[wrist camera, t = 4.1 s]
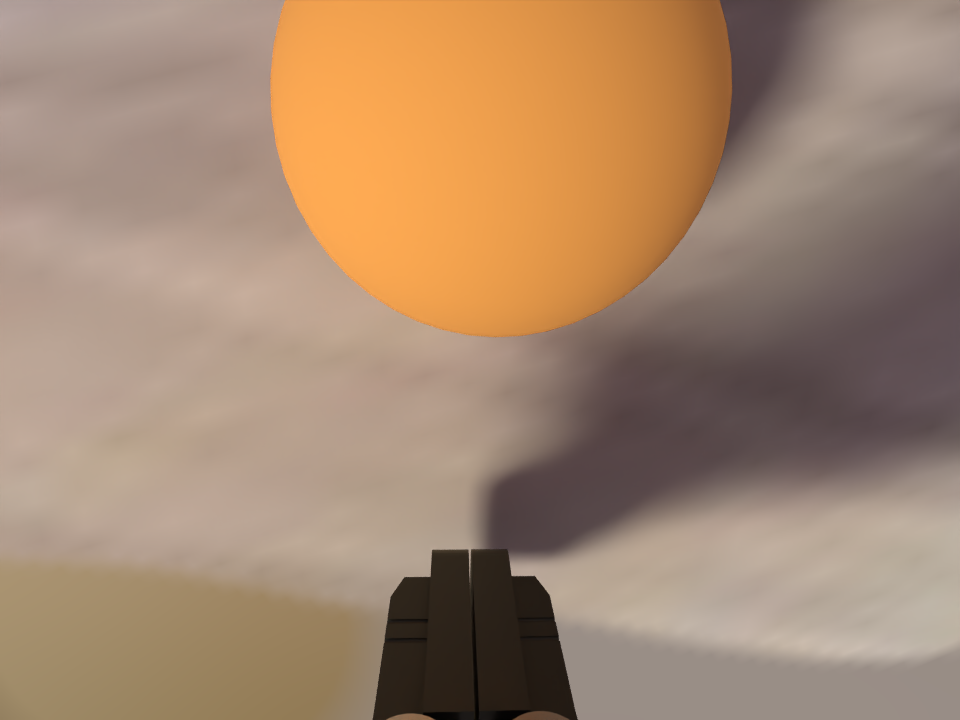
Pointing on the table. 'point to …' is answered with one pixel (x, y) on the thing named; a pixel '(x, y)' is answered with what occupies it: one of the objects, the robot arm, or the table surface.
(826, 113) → the table surface
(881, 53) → the table surface
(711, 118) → the ball
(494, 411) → the table surface
